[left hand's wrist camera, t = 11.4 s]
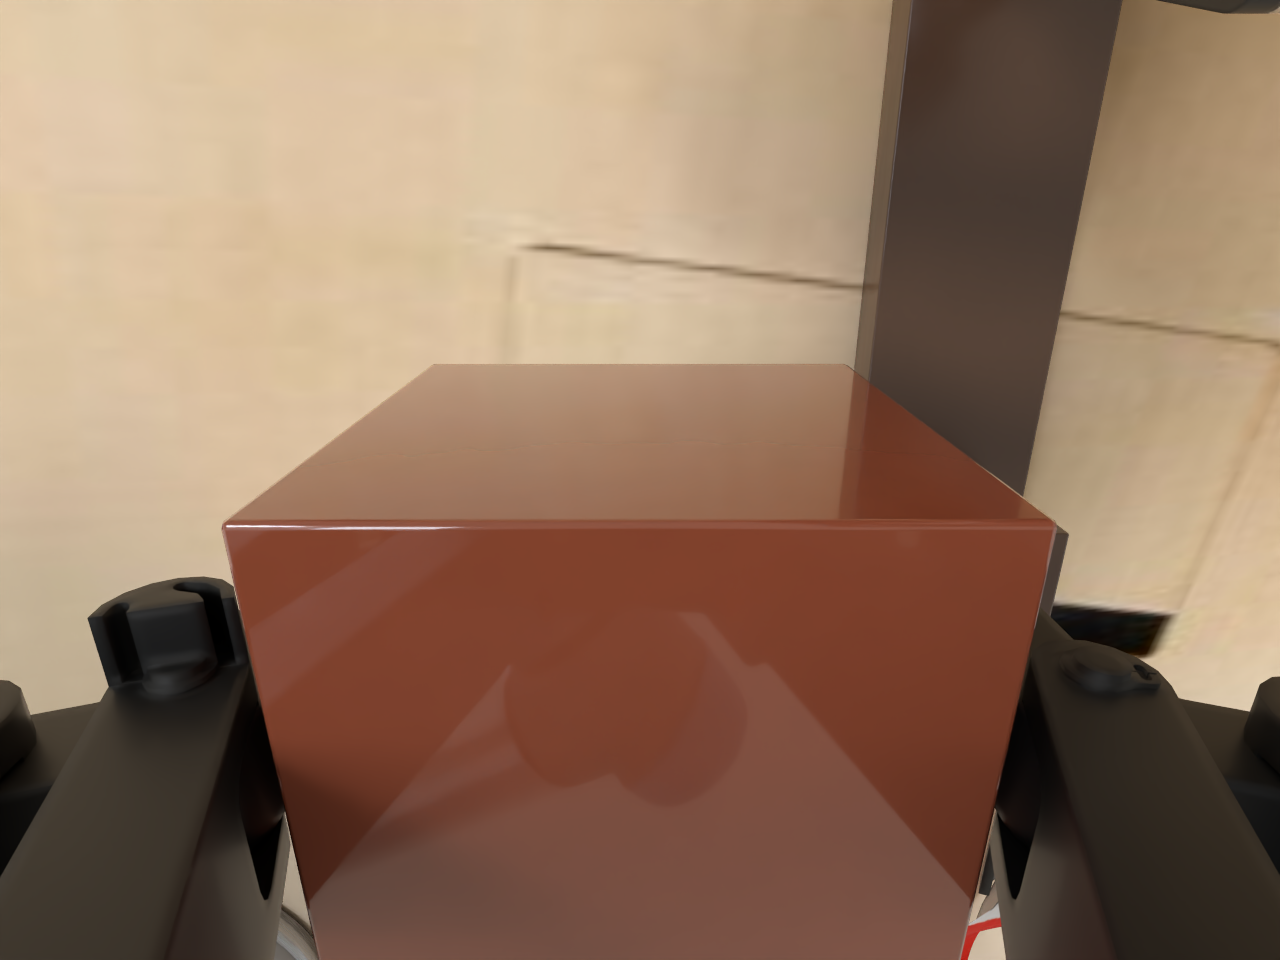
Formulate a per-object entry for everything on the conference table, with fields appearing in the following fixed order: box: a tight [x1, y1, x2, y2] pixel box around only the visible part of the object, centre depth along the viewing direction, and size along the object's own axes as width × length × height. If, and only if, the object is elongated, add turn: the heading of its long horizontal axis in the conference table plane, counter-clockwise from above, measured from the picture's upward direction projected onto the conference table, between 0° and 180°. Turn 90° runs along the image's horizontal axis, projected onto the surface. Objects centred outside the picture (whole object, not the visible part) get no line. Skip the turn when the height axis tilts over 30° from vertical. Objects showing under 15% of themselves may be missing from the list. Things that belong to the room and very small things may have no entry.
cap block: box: [222, 364, 1057, 960], centre depth 9 cm, size 6×6×6 cm
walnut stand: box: [854, 0, 1122, 616], centre depth 24 cm, size 28×7×9 cm, turn 0°
